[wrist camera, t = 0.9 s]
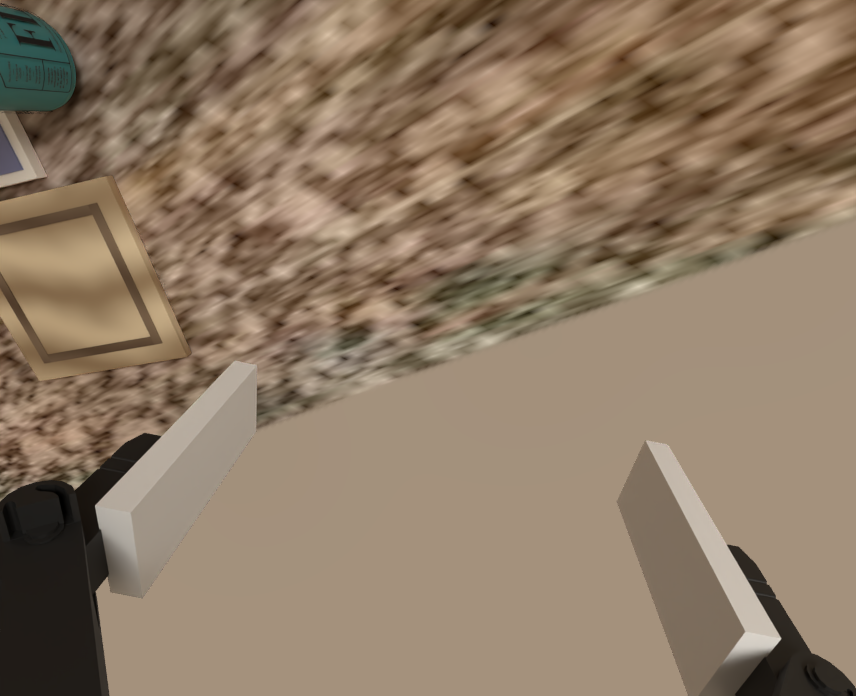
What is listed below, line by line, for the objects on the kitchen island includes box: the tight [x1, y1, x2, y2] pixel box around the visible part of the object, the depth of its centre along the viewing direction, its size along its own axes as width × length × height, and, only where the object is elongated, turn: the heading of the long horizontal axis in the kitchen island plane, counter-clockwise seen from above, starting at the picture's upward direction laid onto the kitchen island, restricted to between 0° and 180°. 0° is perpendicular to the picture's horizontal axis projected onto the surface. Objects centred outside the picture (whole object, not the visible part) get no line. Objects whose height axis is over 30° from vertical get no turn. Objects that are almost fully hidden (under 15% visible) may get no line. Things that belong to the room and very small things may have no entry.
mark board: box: [0, 176, 191, 381], centre depth 43 cm, size 16×16×1 cm
